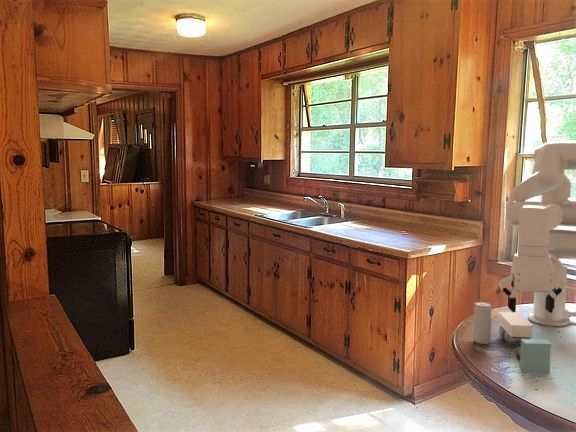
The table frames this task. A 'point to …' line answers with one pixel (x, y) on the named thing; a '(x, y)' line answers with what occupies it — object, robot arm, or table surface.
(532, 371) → the block
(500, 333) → the cylinder
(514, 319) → the slab
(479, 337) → the beverage can
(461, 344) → the table surface
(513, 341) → the cylinder
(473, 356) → the table surface
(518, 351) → the roller
